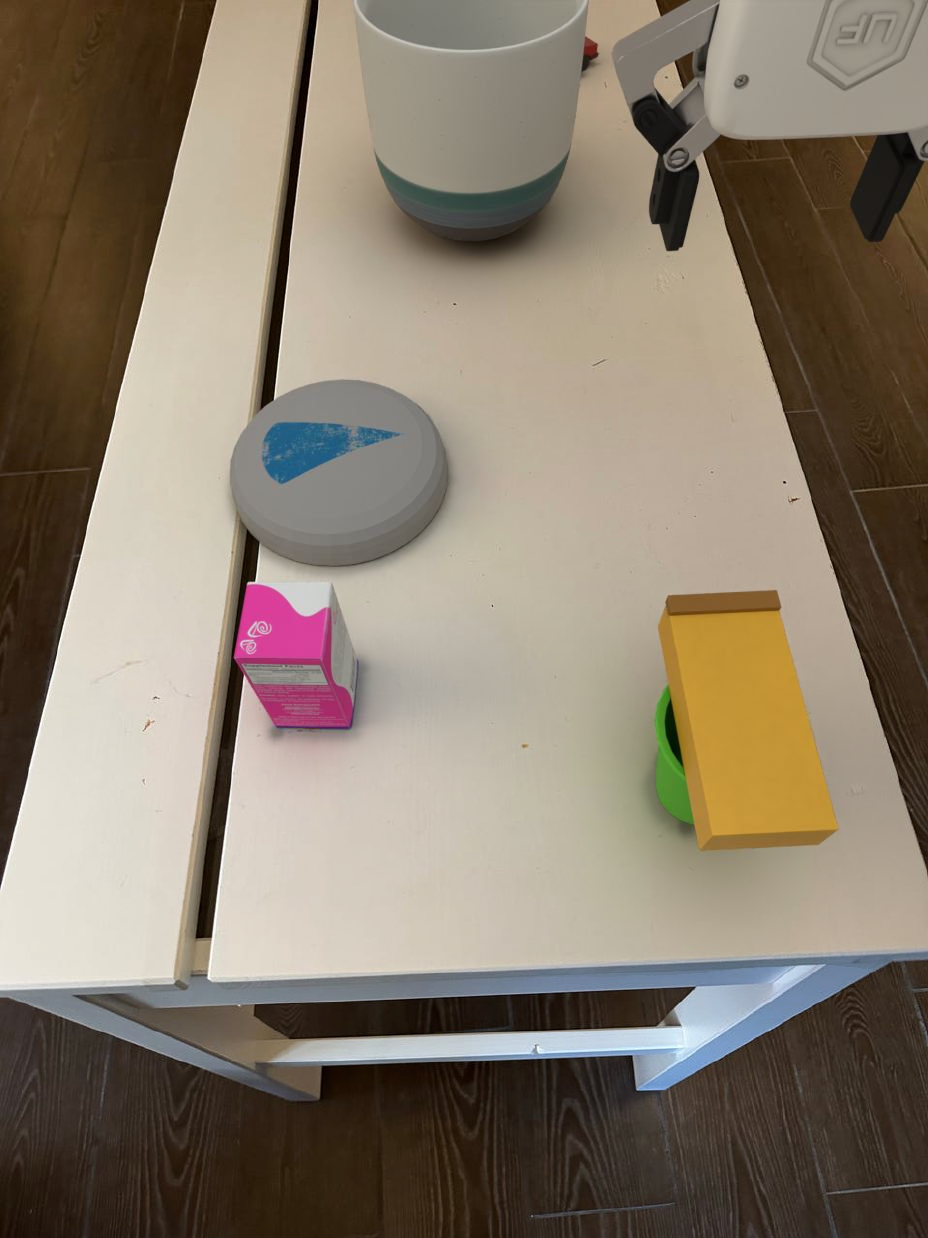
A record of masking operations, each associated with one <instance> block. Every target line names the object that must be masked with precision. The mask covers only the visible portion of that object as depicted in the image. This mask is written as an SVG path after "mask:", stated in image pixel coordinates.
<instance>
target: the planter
mask: <svg viewBox="0 0 928 1238" xmlns="http://www.w3.org/2000/svg"><path fill="white" fill-rule="evenodd" d="M589 2H590V0H352V4H353V14H354V21H355V23H354V24H355V30H356V38H357V47H358V57H359V63H360V71H361V77H362V85H363V93H364V101H365V107H366V113H367V120H368V126H369V132H370V137H371V145H372V149H373V153H374V157H375V160H376V164H377V167H378V170H379V173H380V175H381V178H382V180H383V183H384V185H385V187H386V189H387V191H388V194H389V195H390V196H391V198H392V200H393V201H394V203H395V204H396V205H397V207H398V208H399V209H400V210H401V211H402V212H403V213H404V214H405V215H406V216H407V217H408V218H410V219H411V221H413V222H414V223H416V224H417V225H419V226H420V227H422V228H423V229H425V230H427V231H429V232H430V233H433V234H435V235H438V236H440V237H443V238H446V239H450V240H455V241H461V242H482V241H489V240H493V239H497V238H500V237H503V236H506V235H508V234H511V233H513V232H514V231H516V230H519V229H520V228H521V227H523V226H525V225H526V224H528V222H530V221H532V220H533V219H534V218H535V217H536V216H537V215H539V214H540V212H542V210H544V208H545V207H546V206H547V205H548V203H549V202H550V201H551V200H552V198H553V196H554V194H555V193H556V190H557V189H558V187H559V185H560V182H561V180H562V178H563V175H564V172H565V170H566V168H567V165H568V164H567V163H568V160H569V156H570V152H571V149H572V148H571V147H572V143H573V138H574V137H573V136H574V130H575V123H576V117H577V109H578V102H579V94H580V86H581V79H582V78H581V77H582V61H583V52H584V43H585V36H586V33H587V32H586V31H587V22H588V13H589V4H590V3H589Z"/></svg>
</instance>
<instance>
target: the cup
mask: <svg viewBox="0 0 928 1238" xmlns="http://www.w3.org/2000/svg"><path fill="white" fill-rule="evenodd" d="M654 727H655V729H654V730H655V737H656V740H657V743H658V744H657V757H656V770H655V771H656V773H655V789H656V794H657V796H658V799H659V801H660V803H661V804H662V806H663V808H664V809H665V810H666V811H667V812H668V813H669V814H670V815H671V816H672V817H674V818H676V819H677V820H679V821H681V822H683V823H687V824H689V825H694V819H693V814H692V809H691V803H690V798H689V792H688V787H687V782H686V776H685V771H684V765H683V760H682V755H681V749H680V744H679V738H678V733H677V728H676V722H675V717H674V711H673V706H672V700H671V695H670V690H669V684H668V683H667V685H666V686H665V687H664V689H663V690H662V693H661V695H660V697H659V699H658V701H657V704H656V708H655V716H654Z"/></svg>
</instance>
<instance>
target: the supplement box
mask: <svg viewBox="0 0 928 1238" xmlns="http://www.w3.org/2000/svg"><path fill="white" fill-rule="evenodd" d="M335 590H336V589H335V587H334V584H333V582H332V581H297V582H295V581H293V582H292V581H287V582H286V581H248V582H247V583H246V589H245V594H244V600H243V604H242V611H241V615H240V621H239V627H238V633H237V638H236V645H235V648H234V649H235V650H234V656H233V659H234V661H235V662H236V664H237V665H238V667H239V669H240V670H241V672H242V673H243V675H244V677H245V678H246V680H247V682H248V684H249V685H250V688H252V690H253V692H254V693H255V695H256V697H257V699H258V701H259V702H260V703H261V705H262V707H263V708H264V710H265V712H266V713H267V715H268V717H269V719H270V720H271V721H272V723H273V725H274V727H275V728H279V729H281V728H285V729H325V730H326V729H328V730H330V729H331V730H332V729H333V730H335V729H336V730H351V729H352V727H353V719H354V712H355V704H356V694H357V684H358V673H359V659H358V657H357V655H356V652H355V649H354V645H353V642H352V639H351V637H350V632H349V630H348V626H347V623H346V622H345V621H346V620H345V617H344V614H343V611H342V608H341V606H340V603H339V599H338V597H337V594H336V591H335Z"/></svg>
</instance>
